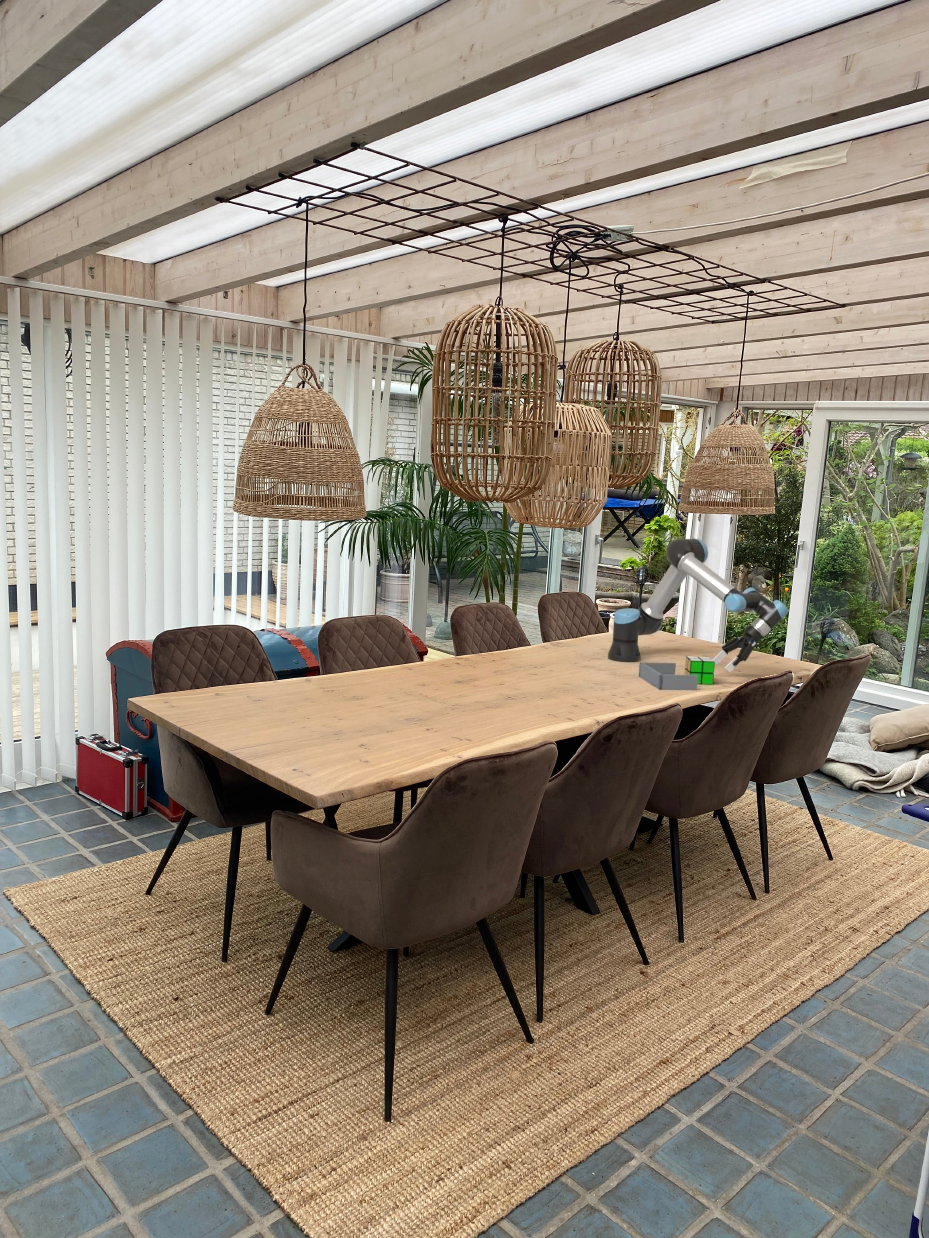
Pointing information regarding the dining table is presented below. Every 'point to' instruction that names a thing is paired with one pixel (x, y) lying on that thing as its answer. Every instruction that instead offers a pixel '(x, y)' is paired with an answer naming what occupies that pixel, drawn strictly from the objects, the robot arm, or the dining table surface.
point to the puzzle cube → (700, 669)
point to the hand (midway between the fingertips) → (720, 666)
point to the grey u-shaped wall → (666, 677)
